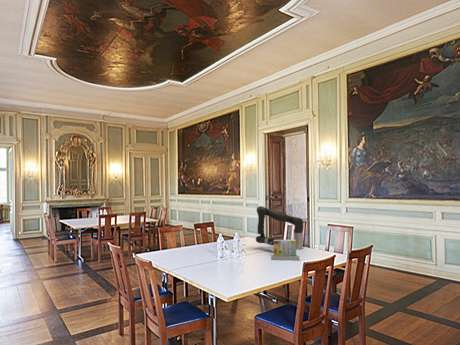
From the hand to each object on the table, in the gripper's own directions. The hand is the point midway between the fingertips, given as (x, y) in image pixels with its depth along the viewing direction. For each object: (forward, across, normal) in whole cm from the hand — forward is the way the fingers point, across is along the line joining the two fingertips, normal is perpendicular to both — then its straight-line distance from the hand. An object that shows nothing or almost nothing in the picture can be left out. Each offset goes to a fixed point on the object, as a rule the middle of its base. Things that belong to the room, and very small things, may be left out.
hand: (280, 243), depth 321 cm
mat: (+17, -9, +10) cm, 22 cm away
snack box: (+8, -2, +10) cm, 13 cm away
